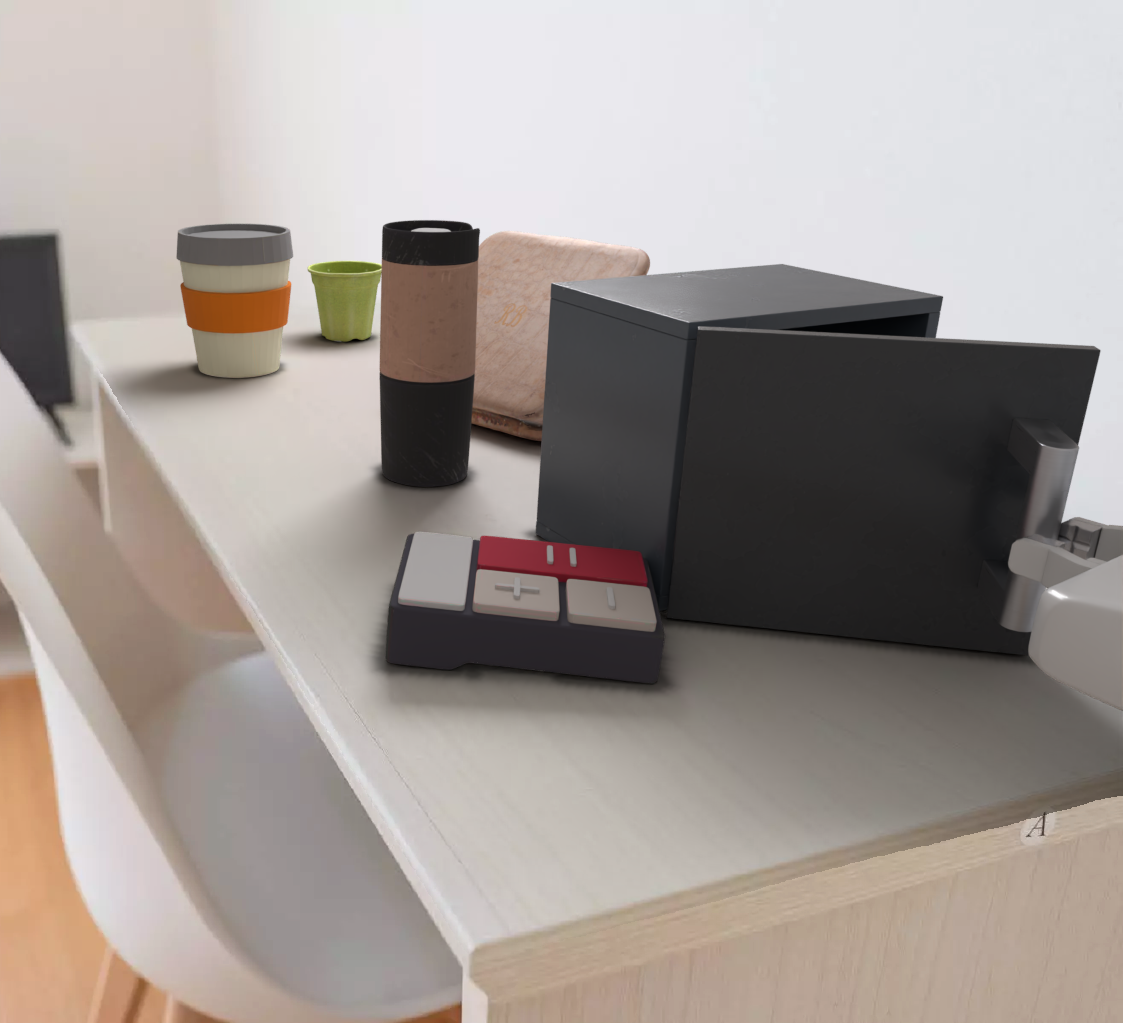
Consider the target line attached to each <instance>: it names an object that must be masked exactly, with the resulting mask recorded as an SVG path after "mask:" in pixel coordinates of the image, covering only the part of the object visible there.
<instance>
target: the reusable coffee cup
mask: <svg viewBox="0 0 1123 1023" xmlns="http://www.w3.org/2000/svg"><path fill="white" fill-rule="evenodd" d="M175 258H176V260H178V261H179V264H180V270H181V275H182V276H181V277H182V282H181V283H180V292H181V298H182V303H183V309H184V315H185V319H186V320H185V321H186V325H187V327H189V328H190V329H191V332H192V333H191V334H192V339H193V344H194V349H195V355H196V361H197V367H198V371H199V372H200V373H202V374H205V375H207V376H212V377H218V378H229V379H230V378H233V379H241V378H254V377H261V376H266V375H270V374H272V373H275V372H276V371H278V370H279V369H280V363H281V353H282V352H281V351H282V342H283V334H284V333H283V332H284V327H285V326H286V325H287V324H288V322H289V313H290V301H291V292H292V282H291V281H290V280H289V275H290V274H289V273H290V266H291V259H293V258H294V250H293V242H292V233H291V229H290V228H288V227H285V226H281V225H275V224H267V223H265V224H263V223H214V224H202V225H200V224H199V225H193V226H188V227H183V228H180V229H178V230H177V238H176V257H175Z"/></svg>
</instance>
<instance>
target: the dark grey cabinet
mask: <svg viewBox="0 0 1123 1023" xmlns="http://www.w3.org/2000/svg"><path fill="white" fill-rule="evenodd" d="M550 297H551V299H550V313H549V329H548V345H547V361H546V377H545V393H544V409H543V425H542V441H540V442H541V444H540V446H541V447H540V459H539V474H538V490H537V492H538V494H537V506H536V520H535V535H537V536H538V537H540V538H542V539H543V540H544V541H545V542H554V543H564V544H573V545H583V546H593V547H602V548H612V549H622V550H632V551H639V552H641V554H642V557H643V558H645V559H646V560H647V561H648V564H649V568H650V573H651V577H652V581H653V586H654V590H655V594H656V599H657V603H658V607H659V612H662V611H666V610H667V601H668V592H669V583H670V574H671V565H672V555H673V546H674V537H675V528H676V519H677V510H678V501H679V491H680V482H681V473H682V464H683V455H684V446H685V436H686V427H687V418H688V409H689V400H690V391H691V381H692V372H693V363H694V354H695V345H696V336H697V327H698V326H705V327H725V328H745V329H765V330H785V331H805V332H825V333H845V334H865V335H885V336H905V337H925V338H937V334H938V327H939V323H940V318H941V312H942V306H943V301H944V296H943V295H939V294H935V293H934V294H933V293H929V292H924V291H919V290H914V289H910V288H904V287H900V286H899V287H898V286H894V285H889V284H884V283H879V282H875V281H869V280H864V279H859V278H854V277H849V276H844V275H841V274H835V273H831V272H830V273H829V272H824V271H819V270H814V269H810V268H805V267H801V266H800V267H799V266H795V265H790V264H785V263H778V264H767V265H754V266H753V265H752V266H741V267H729V268H728V267H727V268H718V269H717V268H716V269H715V268H714V269H705V270H704V269H703V270H695V271H694V270H692V271H691V270H690V271H681V272H668V273H658V274H657V273H655V274H647V275H642V276H629V277H617V278H605V279H593V280H581V281H569V282H556V283H551V294H550Z"/></svg>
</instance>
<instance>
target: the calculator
mask: <svg viewBox="0 0 1123 1023" xmlns="http://www.w3.org/2000/svg"><path fill="white" fill-rule="evenodd" d="M402 550H403V551H402V554H401V558H400V562H399V566H398V569H397V573H396V577H395V581H394V584H393V588H392V593H391V596H390V599H389V603H388V612H387V626H386V639H385V640H386V641H385V652H384V657H385V658H384V660H385V661H386V662H387V663H390V664H394V665H402V666H410V667H420V668H428V669H435V670H437V669H438V670H447V671H451V670H454V669H456V668H458V667H459V668H460V667H461V666H464V665H466V664H474V665H475V664H477V665H485V666H493V667H503V668H512V669H520V670H528V671H537V672H547V673H554V674H562V675H563V674H564V675H571V676H580V677H589V678H597V679H606V680H615V681H624V682H633V683H641V684H650V685H651V684H655V683H657V682H658V679H659V675H660V668H661V662H662V657H663V652H664V646H665V645H664V644H665V641H666V640H665V639H666V633H665V630H664V629H665V628H664V625H663V621H662V616H661V611H659V607H658V603H657V599H656V594H655V590H654V586H653V581H652V577H651V573H650V568H649V564H648V561H647V560H646V559H645V558H643V557H642V554H641V552H639V551H632V550H622V549H612V548H602V547H593V546H583V545H573V544H564V543H554V542H548V541H545V540H544V541H543V540H533V539H524V538H514V537H504V536H497V535H496V536H494V535H481V536H480V538H479V539H474V538H473V537H472V536H467V535H457V534H448V533H439V532H438V533H437V532H430V531H429V532H428V531H415V532H414V533H410V534H408V535H407V537H406V540H405V544H404V547H403V549H402Z"/></svg>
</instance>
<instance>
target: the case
mask: <svg viewBox="0 0 1123 1023" xmlns="http://www.w3.org/2000/svg"><path fill="white" fill-rule="evenodd" d="M478 260H479V261H478V294H477V326H476V359H475V373H474V374H475V380H474V394H473V408H472V422H471V425H476V426H480V427H483V428H486V429H490V430H493V431H497V432H502V433H505V434H508V435H511V436H515V437H518V438H522V439H526V440H530V441H537V442H541V441H542V425H543V409H544V393H545V377H546V361H547V345H548V329H549V313H550V299H551V297H550V294H551V283H556V282H569V281H581V280H593V279H605V278H617V277H629V276H642V275H648V273H649V271H650V267H651V259H650V257H649V255H648V253H647V251H645V250H643V249H641V248H638V247H633V246H628V245H622V244H621V245H620V244H613V243H607V242H600V241H596V240H590V239H583V238H575V237H568V236H561V235H560V236H559V235H549V234H539V233H533V232H524V231H518V230H503V231H497V232H495V233H493V234H491V235H489V236H488V237H487V238H485V239H484V240H483V241H482V242H481V243H479V258H478Z"/></svg>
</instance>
